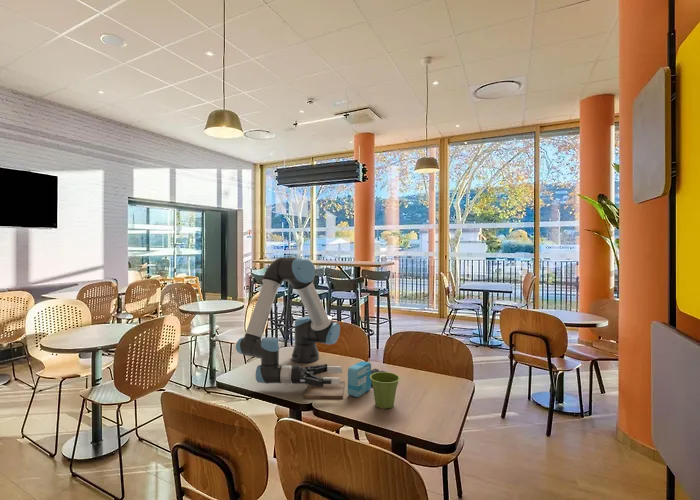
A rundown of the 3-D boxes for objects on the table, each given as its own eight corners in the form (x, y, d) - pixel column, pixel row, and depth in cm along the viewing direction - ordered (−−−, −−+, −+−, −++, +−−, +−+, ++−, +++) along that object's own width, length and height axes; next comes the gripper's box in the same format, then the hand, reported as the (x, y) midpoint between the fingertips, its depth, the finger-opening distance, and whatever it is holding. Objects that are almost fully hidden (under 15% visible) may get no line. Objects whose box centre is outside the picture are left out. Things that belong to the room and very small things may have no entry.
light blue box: (356, 398, 147) (356, 369, 147) (347, 396, 150) (347, 367, 150) (371, 388, 157) (371, 361, 157) (362, 386, 160) (362, 360, 160)
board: (310, 383, 164) (310, 380, 164) (344, 383, 163) (344, 381, 163) (304, 398, 148) (304, 395, 148) (342, 398, 147) (342, 395, 147)
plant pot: (399, 413, 135) (399, 383, 135) (368, 410, 137) (368, 381, 137) (400, 399, 146) (400, 372, 146) (371, 397, 148) (371, 370, 148)
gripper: (297, 372, 168) (342, 373, 167) (285, 395, 143) (338, 396, 142) (297, 356, 168) (342, 357, 167) (285, 376, 143) (338, 377, 142)
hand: (340, 375), depth 155 cm, fingers open, 13 cm apart
